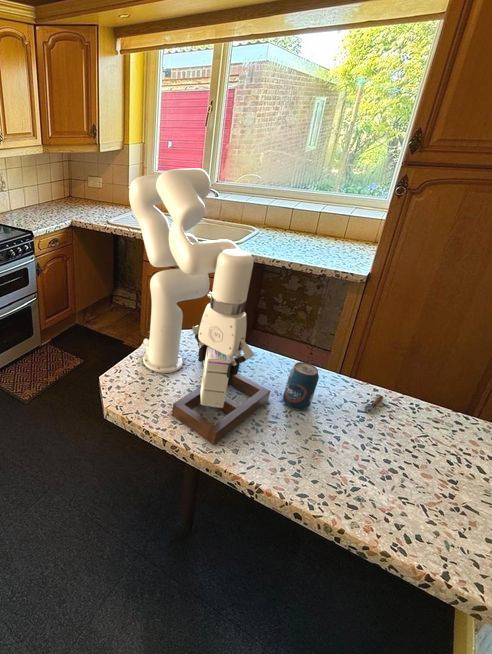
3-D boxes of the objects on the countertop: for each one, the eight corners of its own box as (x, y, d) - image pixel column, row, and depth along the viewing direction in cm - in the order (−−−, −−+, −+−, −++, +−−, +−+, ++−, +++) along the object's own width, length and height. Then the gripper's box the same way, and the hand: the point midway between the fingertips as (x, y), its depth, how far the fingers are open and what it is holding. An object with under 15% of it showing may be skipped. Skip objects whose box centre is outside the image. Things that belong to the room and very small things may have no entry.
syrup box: (223, 408, 100) (233, 361, 93) (199, 405, 101) (207, 358, 94) (222, 394, 105) (230, 348, 98) (199, 391, 106) (206, 345, 99)
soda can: (277, 402, 111) (287, 367, 106) (289, 392, 115) (298, 357, 110) (302, 415, 107) (314, 379, 101) (313, 404, 111) (325, 369, 105)
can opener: (378, 397, 113) (379, 394, 113) (387, 402, 111) (388, 399, 111) (361, 409, 109) (362, 406, 108) (370, 414, 107) (371, 411, 107)
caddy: (171, 415, 107) (173, 403, 105) (226, 378, 121) (228, 368, 119) (213, 445, 97) (216, 433, 96) (267, 402, 112) (270, 390, 110)
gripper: (186, 295, 94) (179, 357, 102) (253, 324, 82) (239, 391, 90) (206, 287, 99) (197, 347, 107) (272, 313, 87) (257, 378, 95)
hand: (216, 367), depth 98 cm, fingers closed on syrup box, 7 cm apart
